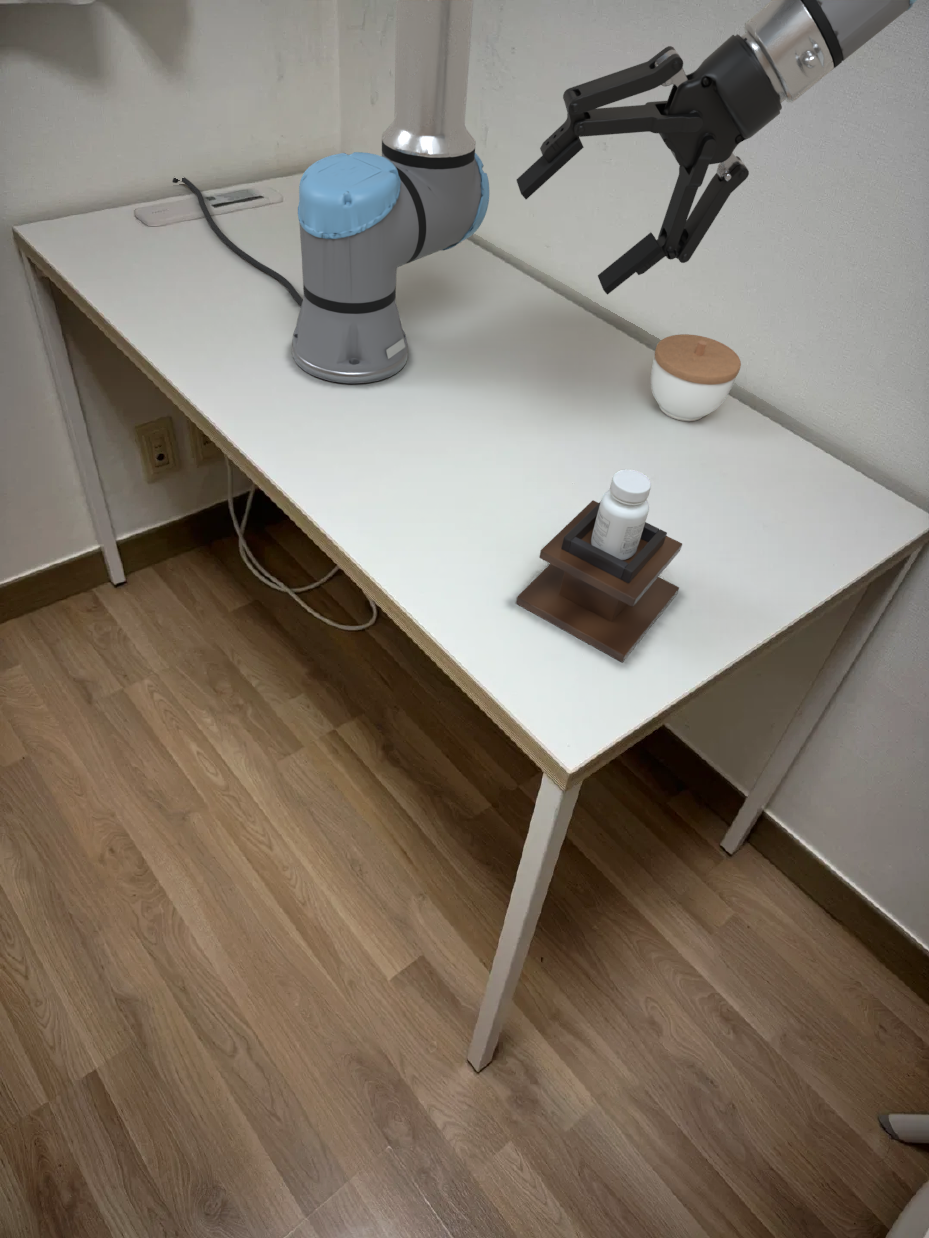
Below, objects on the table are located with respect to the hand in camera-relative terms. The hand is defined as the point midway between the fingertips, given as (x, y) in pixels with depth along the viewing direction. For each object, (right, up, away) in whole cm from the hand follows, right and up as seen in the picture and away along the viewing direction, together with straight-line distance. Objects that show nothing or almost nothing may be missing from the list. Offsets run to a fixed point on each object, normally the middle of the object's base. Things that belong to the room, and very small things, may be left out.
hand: (563, 240), depth 82 cm
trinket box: (+19, -9, +29) cm, 36 cm away
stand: (+4, -35, +3) cm, 35 cm away
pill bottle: (+4, -30, -2) cm, 31 cm away
